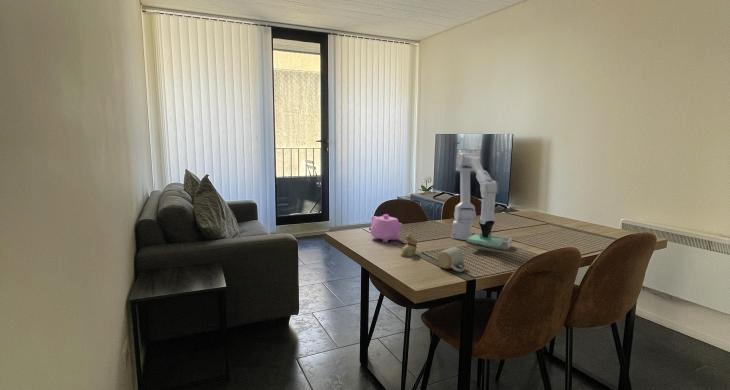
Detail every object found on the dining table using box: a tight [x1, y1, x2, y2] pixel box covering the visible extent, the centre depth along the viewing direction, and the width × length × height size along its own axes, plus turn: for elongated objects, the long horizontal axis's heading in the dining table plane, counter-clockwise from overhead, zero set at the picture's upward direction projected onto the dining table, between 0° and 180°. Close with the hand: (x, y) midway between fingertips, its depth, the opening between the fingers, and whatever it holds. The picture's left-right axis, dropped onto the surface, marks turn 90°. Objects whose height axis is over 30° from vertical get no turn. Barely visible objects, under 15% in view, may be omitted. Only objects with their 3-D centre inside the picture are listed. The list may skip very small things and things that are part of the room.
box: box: [480, 235, 513, 251], centre depth 189 cm, size 12×8×4 cm, turn 57°
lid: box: [466, 232, 504, 247], centre depth 180 cm, size 14×10×4 cm
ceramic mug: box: [437, 246, 466, 273], centre depth 155 cm, size 11×8×8 cm
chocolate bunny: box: [400, 232, 418, 257], centre depth 172 cm, size 6×8×10 cm
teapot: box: [370, 213, 403, 243], centre depth 196 cm, size 20×12×13 cm, turn 43°
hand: (485, 236), depth 179 cm, fingers closed on lid, 2 cm apart
